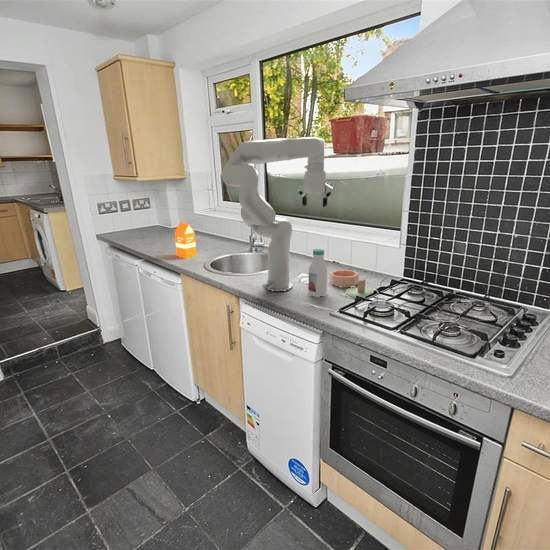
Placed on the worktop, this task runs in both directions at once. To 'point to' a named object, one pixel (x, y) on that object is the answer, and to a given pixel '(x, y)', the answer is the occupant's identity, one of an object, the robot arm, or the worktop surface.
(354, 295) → the lid
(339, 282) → the bowl
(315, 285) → the milk bottle
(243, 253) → the worktop surface
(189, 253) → the orange juice
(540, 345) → the worktop surface
